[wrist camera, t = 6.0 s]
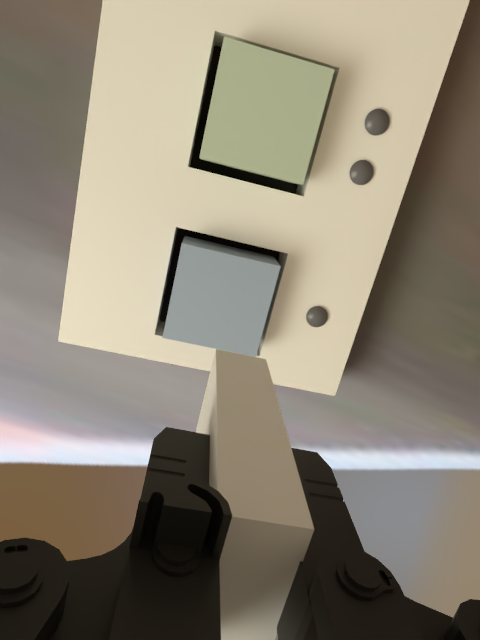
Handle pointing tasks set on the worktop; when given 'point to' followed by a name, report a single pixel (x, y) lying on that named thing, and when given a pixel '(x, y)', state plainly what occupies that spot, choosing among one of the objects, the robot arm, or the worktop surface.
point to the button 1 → (220, 296)
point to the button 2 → (265, 111)
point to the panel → (240, 196)
